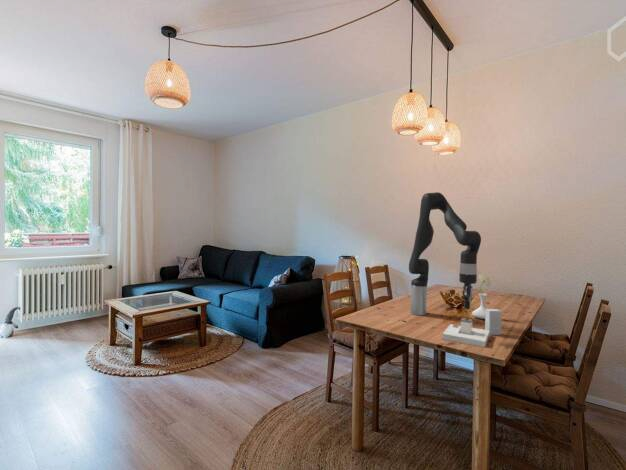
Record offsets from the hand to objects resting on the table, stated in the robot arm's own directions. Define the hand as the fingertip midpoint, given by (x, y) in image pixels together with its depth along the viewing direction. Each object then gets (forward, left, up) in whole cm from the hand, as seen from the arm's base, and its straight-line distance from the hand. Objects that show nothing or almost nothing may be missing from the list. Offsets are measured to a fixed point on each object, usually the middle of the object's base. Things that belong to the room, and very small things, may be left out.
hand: (467, 308), depth 159 cm
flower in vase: (-43, +2, -14) cm, 45 cm away
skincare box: (-14, +10, -14) cm, 22 cm away
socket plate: (0, 0, -14) cm, 14 cm away
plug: (0, 0, -14) cm, 14 cm away
